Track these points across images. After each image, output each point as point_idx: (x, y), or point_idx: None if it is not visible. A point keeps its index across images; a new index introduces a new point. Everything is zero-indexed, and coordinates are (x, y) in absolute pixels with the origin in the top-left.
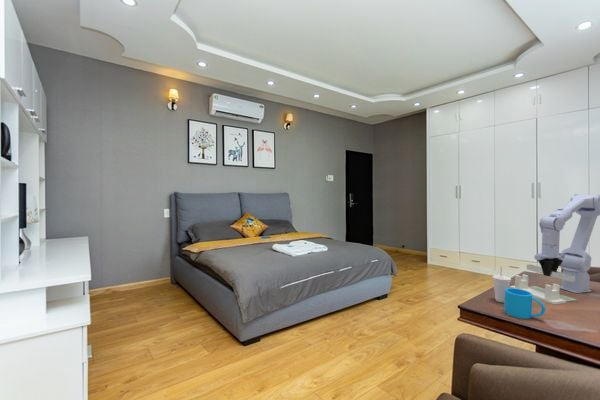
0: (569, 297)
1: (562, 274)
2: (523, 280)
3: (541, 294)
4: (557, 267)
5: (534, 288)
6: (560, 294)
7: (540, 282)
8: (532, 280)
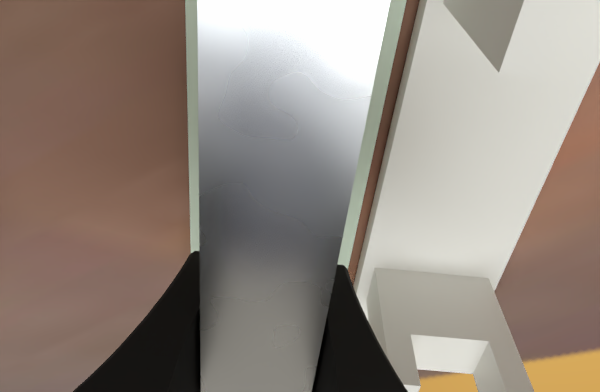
0: None
1: (365, 112)
2: (432, 346)
3: (471, 115)
4: (134, 367)
5: None
6: (197, 61)
7: (21, 327)
8: (48, 368)
